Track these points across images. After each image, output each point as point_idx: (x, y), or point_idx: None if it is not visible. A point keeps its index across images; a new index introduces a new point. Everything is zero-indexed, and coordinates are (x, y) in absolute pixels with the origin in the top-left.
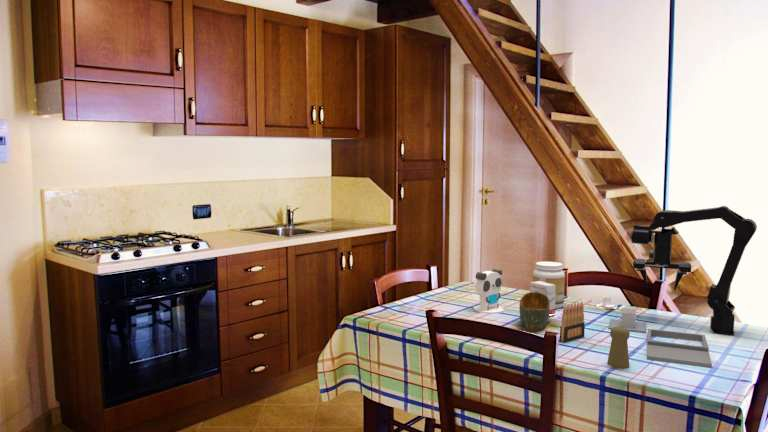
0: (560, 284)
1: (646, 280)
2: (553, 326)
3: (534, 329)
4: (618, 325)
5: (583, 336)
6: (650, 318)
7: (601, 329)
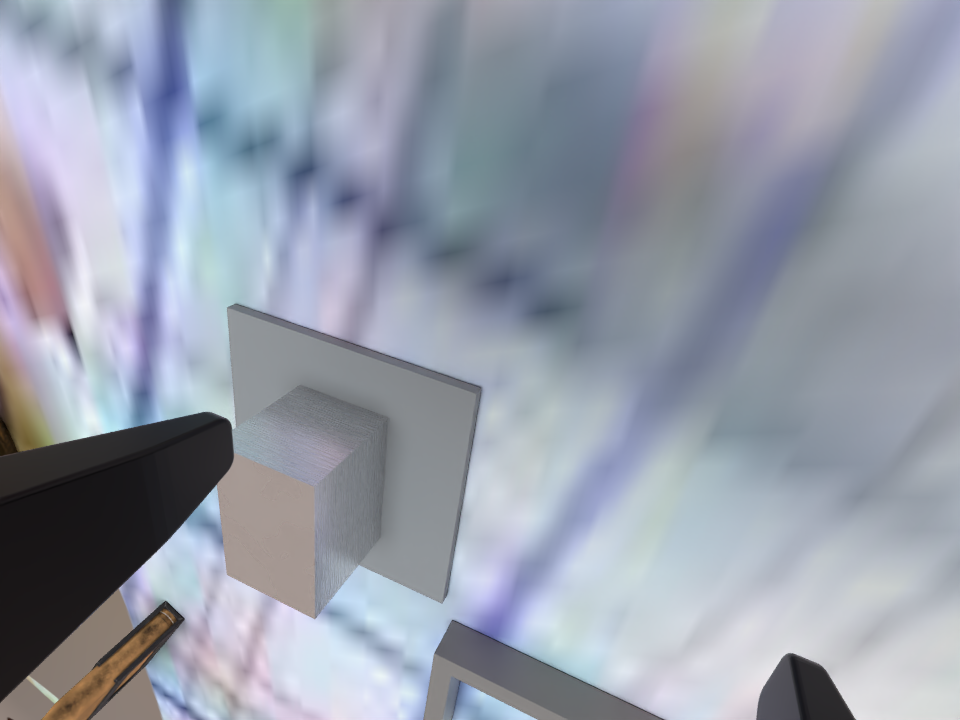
0: None
1: (68, 631)
2: None
3: None
4: None
5: (177, 626)
6: (564, 148)
7: None
